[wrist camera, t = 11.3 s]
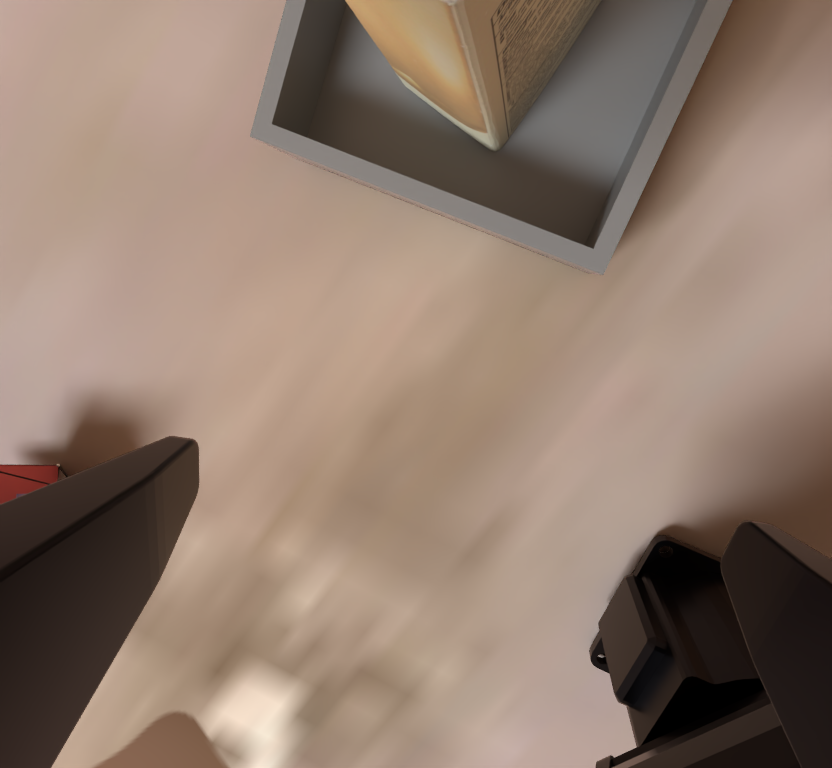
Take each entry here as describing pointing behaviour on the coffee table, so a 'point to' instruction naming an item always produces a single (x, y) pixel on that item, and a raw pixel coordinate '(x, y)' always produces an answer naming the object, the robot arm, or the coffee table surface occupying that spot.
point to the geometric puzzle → (25, 479)
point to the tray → (526, 147)
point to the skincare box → (476, 54)
